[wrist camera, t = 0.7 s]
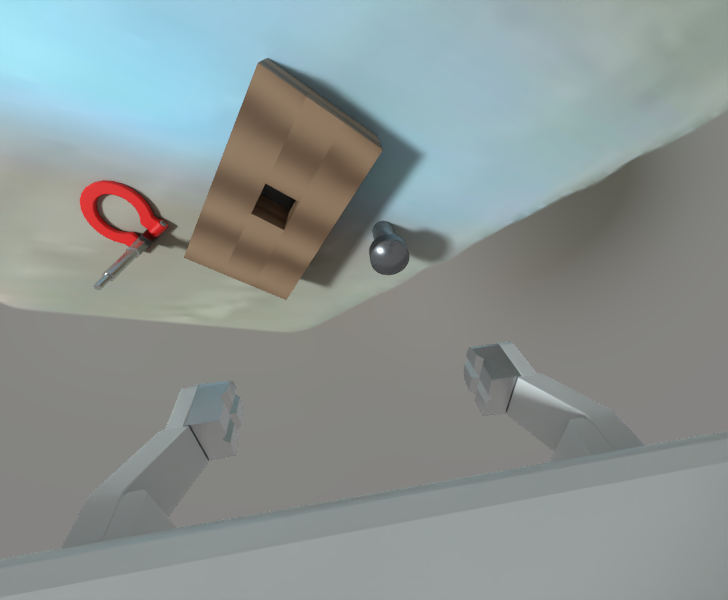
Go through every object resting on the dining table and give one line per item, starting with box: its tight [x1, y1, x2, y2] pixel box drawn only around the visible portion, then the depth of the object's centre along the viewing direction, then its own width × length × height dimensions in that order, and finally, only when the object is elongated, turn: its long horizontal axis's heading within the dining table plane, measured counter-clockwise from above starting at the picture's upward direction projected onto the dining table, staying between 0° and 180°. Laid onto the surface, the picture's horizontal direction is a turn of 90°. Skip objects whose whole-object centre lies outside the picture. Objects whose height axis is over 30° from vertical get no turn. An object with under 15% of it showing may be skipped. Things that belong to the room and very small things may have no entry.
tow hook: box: [80, 180, 168, 290], centre depth 39 cm, size 8×13×9 cm
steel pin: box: [369, 221, 409, 275], centre depth 46 cm, size 5×5×8 cm
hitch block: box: [184, 58, 383, 300], centre depth 41 cm, size 24×14×6 cm, turn 147°
